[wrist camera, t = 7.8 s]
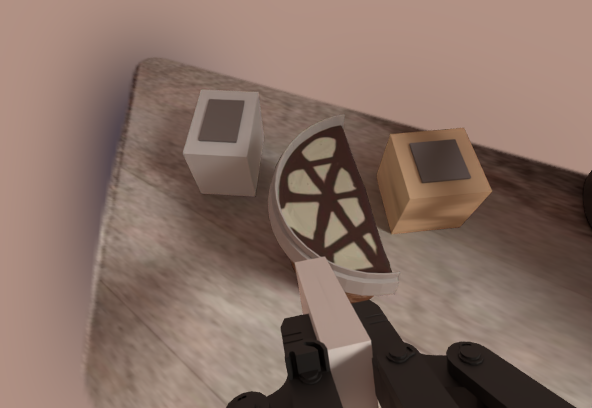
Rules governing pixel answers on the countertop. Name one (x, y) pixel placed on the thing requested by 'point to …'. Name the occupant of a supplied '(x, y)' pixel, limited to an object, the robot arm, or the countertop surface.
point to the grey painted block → (226, 142)
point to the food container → (329, 211)
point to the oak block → (430, 180)
